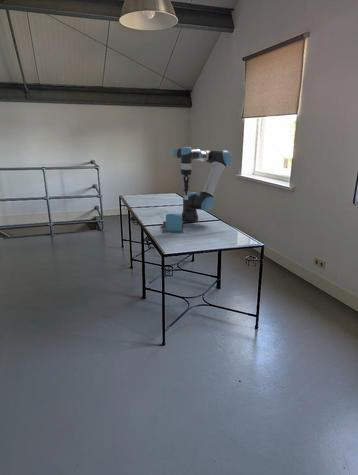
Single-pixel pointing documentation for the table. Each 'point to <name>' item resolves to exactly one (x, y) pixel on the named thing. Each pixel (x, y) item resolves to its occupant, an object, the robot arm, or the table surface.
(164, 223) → the walnut box
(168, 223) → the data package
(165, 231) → the charcoal mat
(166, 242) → the table surface
